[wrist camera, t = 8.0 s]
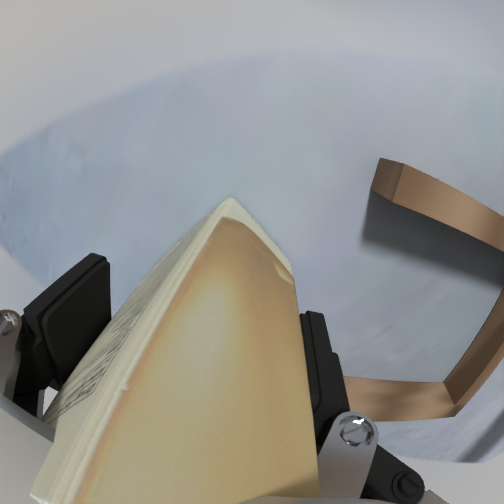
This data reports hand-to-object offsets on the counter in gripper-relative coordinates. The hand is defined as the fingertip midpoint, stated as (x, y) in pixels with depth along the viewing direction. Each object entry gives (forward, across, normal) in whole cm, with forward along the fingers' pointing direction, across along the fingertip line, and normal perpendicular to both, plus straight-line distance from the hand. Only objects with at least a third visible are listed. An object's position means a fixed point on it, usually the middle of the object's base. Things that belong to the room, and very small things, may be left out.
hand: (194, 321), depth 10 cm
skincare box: (+5, 0, 0) cm, 5 cm away
